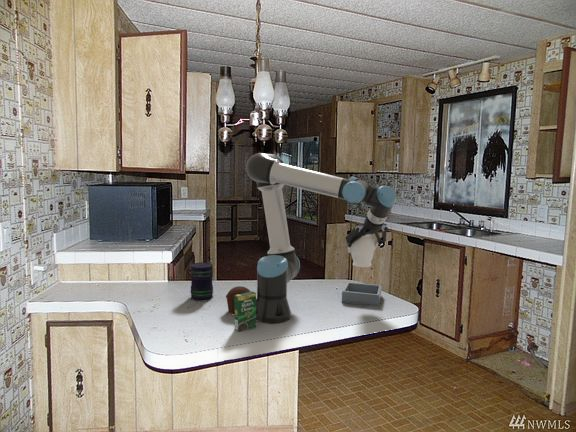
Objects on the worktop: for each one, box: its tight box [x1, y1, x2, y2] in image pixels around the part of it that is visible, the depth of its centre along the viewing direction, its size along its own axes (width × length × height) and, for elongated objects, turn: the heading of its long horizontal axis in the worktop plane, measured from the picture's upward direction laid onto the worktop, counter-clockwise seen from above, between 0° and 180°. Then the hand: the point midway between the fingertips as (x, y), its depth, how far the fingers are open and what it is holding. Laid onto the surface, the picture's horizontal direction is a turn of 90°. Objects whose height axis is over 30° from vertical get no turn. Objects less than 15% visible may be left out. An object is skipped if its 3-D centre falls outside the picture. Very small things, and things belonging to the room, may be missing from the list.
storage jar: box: [190, 261, 214, 302], centre depth 183 cm, size 10×10×15 cm
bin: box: [341, 281, 382, 307], centre depth 187 cm, size 16×16×5 cm
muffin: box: [225, 286, 252, 316], centre depth 166 cm, size 12×11×10 cm
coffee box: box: [233, 290, 257, 332], centre depth 149 cm, size 8×3×13 cm, turn 127°
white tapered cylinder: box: [350, 232, 376, 268], centre depth 179 cm, size 11×10×15 cm
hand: (360, 250), depth 181 cm, fingers closed on white tapered cylinder, 10 cm apart
